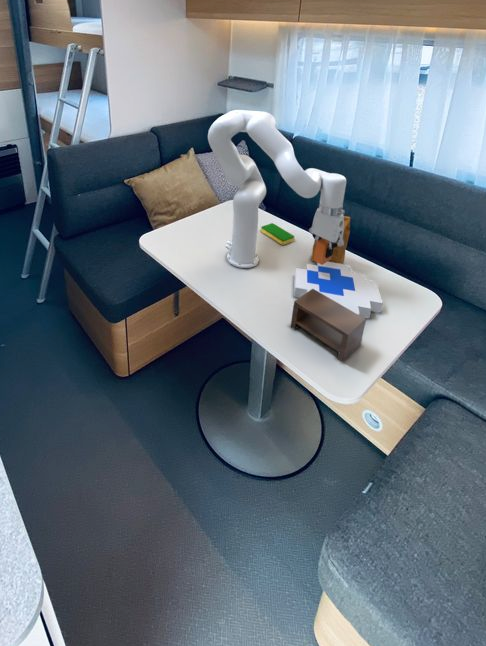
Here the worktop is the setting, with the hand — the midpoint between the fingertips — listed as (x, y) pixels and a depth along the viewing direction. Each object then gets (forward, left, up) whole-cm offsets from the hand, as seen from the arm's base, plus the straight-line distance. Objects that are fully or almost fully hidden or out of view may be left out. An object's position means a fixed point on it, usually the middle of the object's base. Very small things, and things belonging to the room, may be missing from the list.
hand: (323, 253), depth 148 cm
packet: (0, 0, -3) cm, 3 cm away
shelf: (+17, -23, -12) cm, 31 cm away
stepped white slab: (+8, -2, -12) cm, 14 cm away
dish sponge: (-30, +14, -12) cm, 35 cm away
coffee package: (-5, +14, -12) cm, 19 cm away
